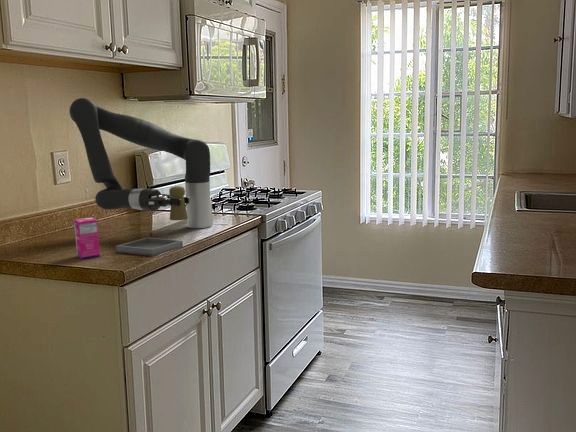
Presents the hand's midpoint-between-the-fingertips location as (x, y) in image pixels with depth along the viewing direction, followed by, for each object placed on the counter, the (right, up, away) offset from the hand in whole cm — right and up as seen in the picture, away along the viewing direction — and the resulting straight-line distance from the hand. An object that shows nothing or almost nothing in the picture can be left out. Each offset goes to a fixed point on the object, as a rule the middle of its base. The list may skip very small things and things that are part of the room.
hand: (184, 201), depth 199 cm
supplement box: (-26, -17, -17) cm, 36 cm away
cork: (-2, -6, +2) cm, 7 cm away
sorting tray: (-9, -15, -9) cm, 20 cm away
